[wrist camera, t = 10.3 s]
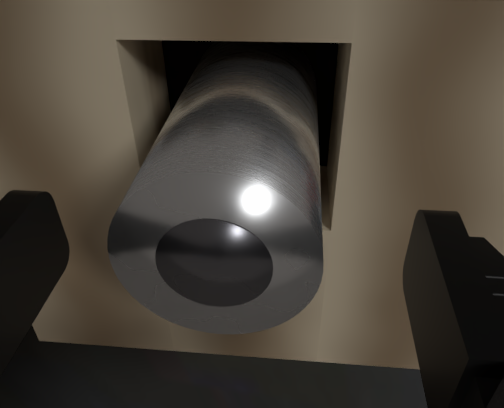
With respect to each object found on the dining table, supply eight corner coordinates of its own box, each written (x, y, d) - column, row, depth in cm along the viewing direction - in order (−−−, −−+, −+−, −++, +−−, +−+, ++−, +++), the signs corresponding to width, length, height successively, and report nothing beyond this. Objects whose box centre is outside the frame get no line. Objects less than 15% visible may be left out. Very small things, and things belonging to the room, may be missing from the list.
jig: (554, -32, 13) (631, 1, 10) (443, 297, 22) (466, 372, 18) (-28, -32, 15) (-119, -4, 12) (76, 275, 23) (39, 340, 20)
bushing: (321, 28, 15) (333, 180, 8) (312, 146, 18) (316, 343, 10) (188, 26, 15) (83, 170, 8) (199, 142, 18) (127, 329, 11)
